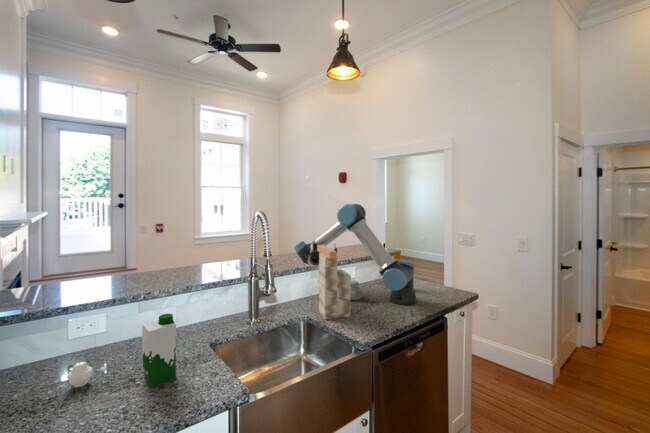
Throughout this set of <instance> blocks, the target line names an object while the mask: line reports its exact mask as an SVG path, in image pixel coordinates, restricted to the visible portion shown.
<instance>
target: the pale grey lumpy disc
mask: <svg viewBox="0 0 650 433" xmlns="http://www.w3.org/2000/svg"><path fill="white" fill-rule="evenodd" d="M93 370H94V369H93V367H91V366H89V365H88V363H87V362H86V361H80V362H77V363H75V364H74V365H73V366H72V369H71V370H70V371H69V373H68V374H67V376H66V378H67V380H68V382H69V383H70V384H71V385H72V386H73V387H74V388H80V387H83V386H86V384H88V382H89V380H90V378H91V376H92V374H93V372H94V371H93Z"/></svg>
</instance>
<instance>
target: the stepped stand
mask: <svg viewBox="0 0 650 433" xmlns="http://www.w3.org/2000/svg"><path fill="white" fill-rule="evenodd" d="M351 278H352V276H351V274H350V273H348V272H346V271H345V270H343V269H338V256H337V255H336V258H332V259H330V258H328V257H326V256H325V255H323V254H321V253H319V266H318V311H319V313H320V314H321V315H322V317H323V318H324V320H328V319H329V320H330V319H337V318H339V319H340V318H349V317H351V303H352V302H351V301H352V300H351V281H352V279H351Z"/></svg>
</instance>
